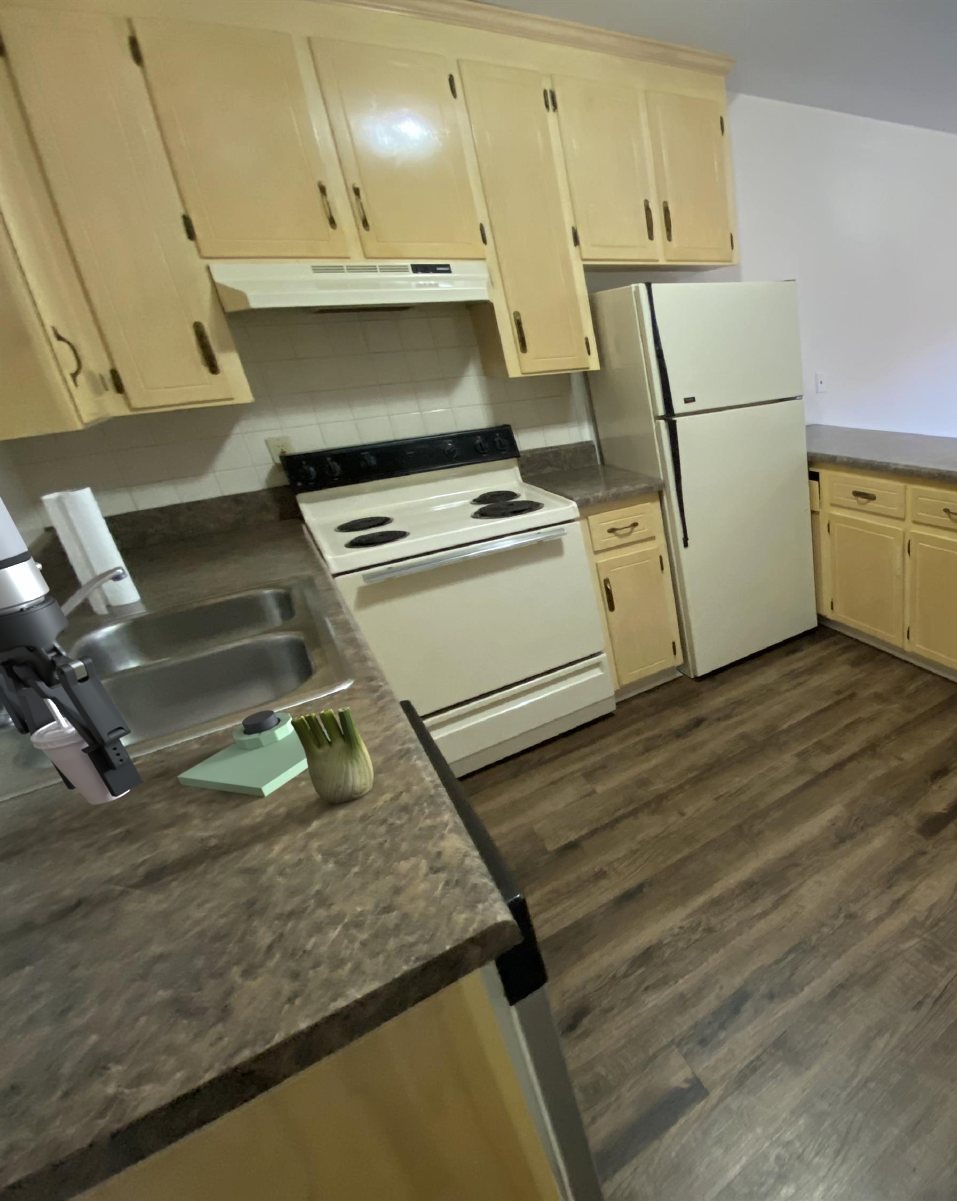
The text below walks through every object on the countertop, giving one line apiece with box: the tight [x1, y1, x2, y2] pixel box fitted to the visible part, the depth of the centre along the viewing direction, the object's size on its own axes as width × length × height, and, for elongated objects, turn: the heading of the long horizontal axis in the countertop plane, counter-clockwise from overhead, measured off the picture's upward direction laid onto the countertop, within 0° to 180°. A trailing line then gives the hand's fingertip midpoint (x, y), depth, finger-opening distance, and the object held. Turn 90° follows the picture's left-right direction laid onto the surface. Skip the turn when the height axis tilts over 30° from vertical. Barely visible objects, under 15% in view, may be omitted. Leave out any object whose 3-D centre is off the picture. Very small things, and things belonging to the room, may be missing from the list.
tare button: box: [241, 709, 279, 735], centre depth 90 cm, size 4×4×2 cm
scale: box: [176, 712, 343, 798], centre depth 87 cm, size 14×13×3 cm
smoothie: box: [30, 699, 130, 805], centre depth 74 cm, size 6×6×14 cm
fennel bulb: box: [291, 706, 375, 805], centre depth 77 cm, size 6×5×12 cm
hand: (105, 785), depth 77 cm, fingers closed on smoothie, 6 cm apart
